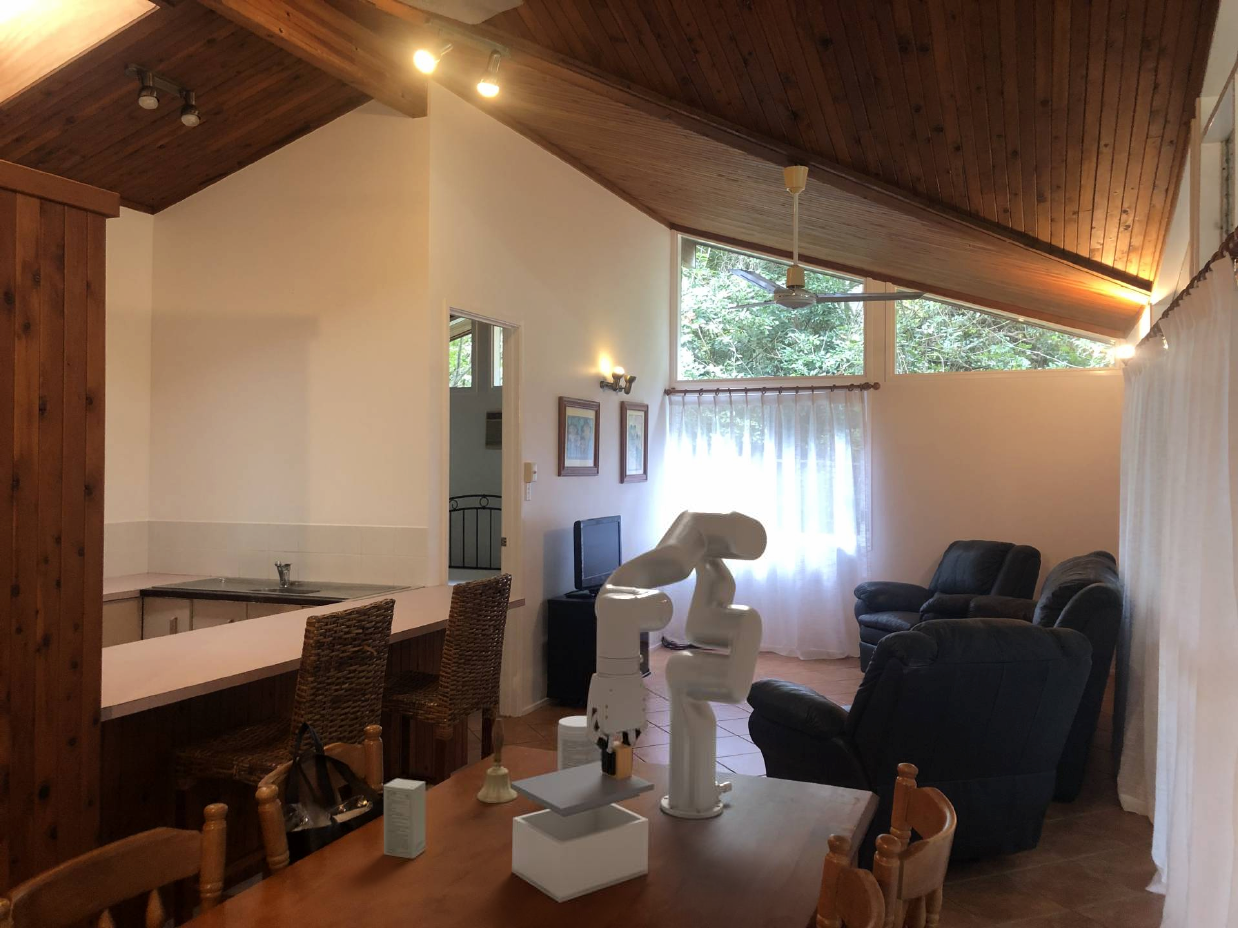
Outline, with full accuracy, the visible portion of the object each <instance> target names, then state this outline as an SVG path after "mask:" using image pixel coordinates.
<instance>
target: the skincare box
mask: <svg viewBox="0 0 1238 928" xmlns="http://www.w3.org/2000/svg"><path fill="white" fill-rule="evenodd" d="M426 806H427V805H426V781H421V780H416V779H415V780H414V779H413V780H412V779H406V778H405V779H404V778H398V777H397V778H395V779H392V780H391V781H389V782H387V783H385V784H383V854H384V855H387V856H392V857H399V858H405V859H413V860H414V859H415V858H416V857H418V856H419V855H420V854H421V853H423V852H424V851H425V850H427V847H426V845H427V844H426V843H427V842H426V837H427V836H426V835H427V834H426V833H427V832H426V825H427V823H426V818H427V817H426V816H427V815H426V810H427V809H426Z"/></svg>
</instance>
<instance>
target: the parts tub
mask: <svg viewBox="0 0 1238 928" xmlns="http://www.w3.org/2000/svg"><path fill="white" fill-rule="evenodd" d="M511 847H512V853H511V854H512V855H511V859H512V860H511V872H512V873H513V874H515V876H516V875H517V876H518V877H519V878H520V879H522V880H524V881H525V882H527V883H528V884H530V885H531V886H533V887H534V888H536V889H537V890H539V891H541V892H543V893H544V894H546V895H547V896H548V897H550V898H552V899H553V900H555V901H557V902H558V903H559V904H560V903H564V902H566V901H569V900H571V899H572V900H573V899H574V898H578V897H580V896H583V895H587V894H591V893H593V892H596V891H599V890H602V889H604V888H607V887H611V886H614V885H617V884H620V883H623V882H626V881H628V880H632V879H635V878H638V877H641V876H643V875H647V874H648V873H649V871H648V870H649V868H648V866H649V819H648V818H647V817H644V816H641V815H640V814H638V813H635V812H633V811H630V810H629V809H627V808H624V807H622V806H620V805H618V804H616V803H613V804H609V805H606V806H602V807H598V808H595V809H591V810H588V811H584V812H580V813H577V814H573V815H570V816H566V817H563V816H561V815H559V814H557V813H555V812H553V811H551V810H549V809H548V808H545V809H542V810H540V811H535V812H532V813H531V812H529V813H527V814H523V815H520V816H515V817H513V818H512V846H511Z"/></svg>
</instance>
